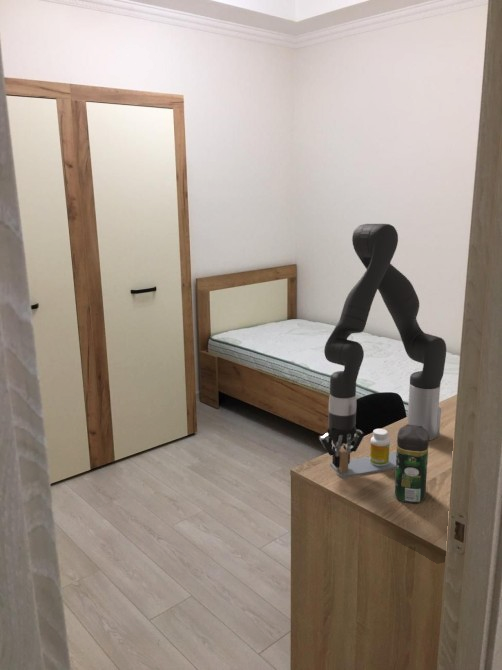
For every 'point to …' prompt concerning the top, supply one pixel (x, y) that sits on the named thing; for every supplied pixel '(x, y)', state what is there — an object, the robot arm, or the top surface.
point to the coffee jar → (411, 463)
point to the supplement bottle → (379, 448)
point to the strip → (361, 465)
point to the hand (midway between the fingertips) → (340, 465)
